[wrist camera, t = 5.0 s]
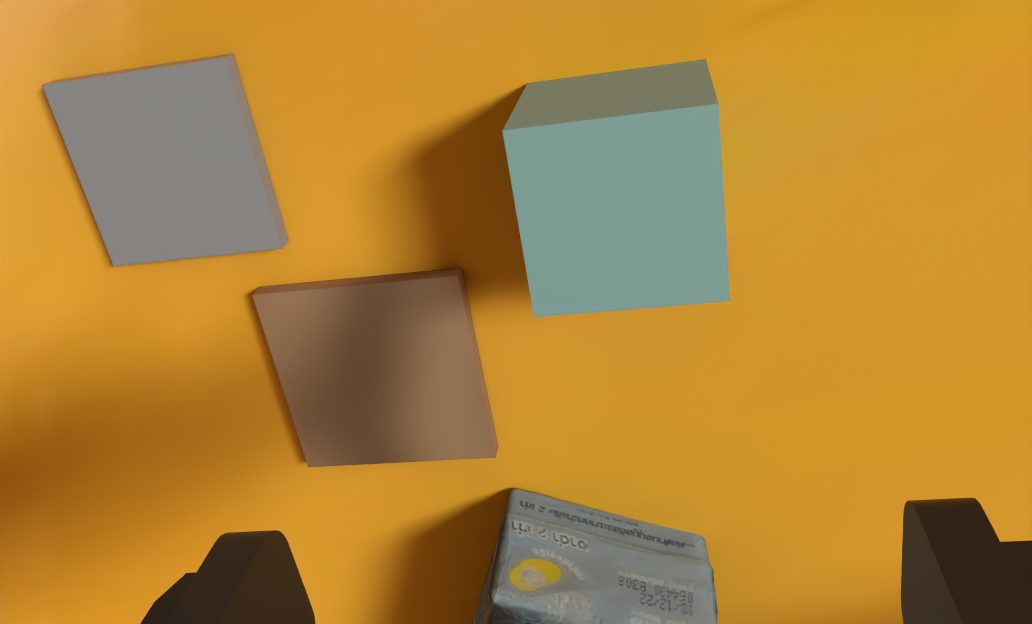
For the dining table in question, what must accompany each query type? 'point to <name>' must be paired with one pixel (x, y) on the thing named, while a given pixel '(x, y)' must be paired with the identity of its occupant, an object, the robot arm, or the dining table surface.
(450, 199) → the dining table surface
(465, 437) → the pad
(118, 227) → the pad
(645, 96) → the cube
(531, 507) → the beverage carton
